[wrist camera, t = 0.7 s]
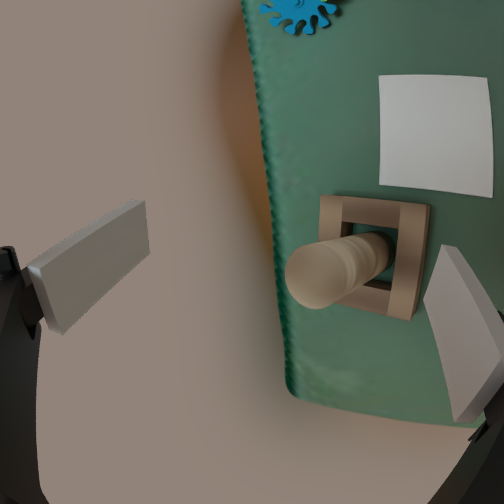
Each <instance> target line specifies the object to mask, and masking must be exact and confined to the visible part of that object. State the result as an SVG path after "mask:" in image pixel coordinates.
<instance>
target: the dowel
mask: <svg viewBox="0 0 504 504" xmlns="http://www.w3.org/2000/svg"><path fill="white" fill-rule="evenodd" d="M394 258H395V247H394V244H393V242H392V240H391V239H390V238H389V237H388V236H387V235H386V234H385V233H383V232H380V231H371V232H366V233H361V234H356V235H351V236H347V237H342V238H337V239H332V240H327V241H322V242H318V243H313V244H308V245H304V246H301V247H299V248H297V249H296V250H295V251H294V252H293V253H292V254H291V255H290V257H289V259H288V261H287V263H286V268H285V280H286V284H287V287H288V289H289V291H290V293H291V295H292V296H293V298H294V299H295V300H296V301H297V302H299V303H300V304H301V305H303V306H305V307H307V308H311V309H321V308H325V307H327V306H329V305H331V304H332V303H334V302H336V301H337V300H339V299H341V298H342V297H344V296H345V295H347V294H349V293H350V292H352V291H354V290H355V289H357V288H358V287H360V286H361V285H363V284H365V283H366V282H368V281H369V280H371V279H372V278H374V277H376V276H377V275H379V274H380V273H382V272H383V271H385V270H386V269H388V268H389V267H390V266H391V264H392V263H393V261H394Z"/></svg>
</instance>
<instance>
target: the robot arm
mask: <svg viewBox="0 0 504 504" xmlns="http://www.w3.org/2000/svg"><path fill="white" fill-rule="evenodd" d="M149 254H150V250H149V240H148V230H147V220H146V209H145V201H142V200H130V201H128V202H126V203H125V204H123V205H121V206H119V207H118V208H116V209H114V210H112V211H110V212H109V213H107V214H105V215H104V216H102V217H100V218H98V219H97V220H95V221H94V222H92V223H90V224H88V225H87V226H85V227H83V228H82V229H80V230H79V231H77V232H75V233H74V234H72V235H70V236H69V237H67V238H66V239H64V240H63V241H61V242H59V243H58V244H56V245H55V246H53V247H52V248H50V249H49V250H47V251H46V252H44V253H43V254H41V255H40V256H38V257H37V258H35V259H34V260H32V261H31V262H30V263H28V264H27V267H25V268H24V269H22V270H21V269H20V266H19V263H18V259H17V256H16V252H15V249H14V248H13V247H12V246H4V247H0V504H49V503H48V501H47V500H46V498H45V496H44V494H43V493H42V490H41V487H40V482H39V472H38V460H37V445H36V386H37V368H38V357H39V345H40V338H41V325H40V323H39V321H40V319H42V318H43V317H44V318H45V320H46V323H47V325H48V328H49V329H50V330H52V331H54V332H56V333H58V334H60V335H63V334H64V333H65V332H66V331H67V330H68V329H69V328H70V327H71V326H72V325H73V324H74V323H75V322H76V321H78V319H79V318H81V316H83V314H85V313H86V312H87V311H88V310H89V309H90V308H91V307H92V306H93V305H94V304H95V303H96V302H97V301H98V300H100V299H101V298H102V297H103V296H104V295H105V294H106V293H107V292H108V291H109V290H110V289H111V288H112V287H113V286H115V285H116V284H117V283H118V282H119V281H120V280H121V279H122V278H123V277H124V276H126V275H127V274H128V273H129V272H130V271H131V270H132V269H133V268H134V267H135V266H137V265H138V264H139V263H140V262H141V261H142V260H143V259H145V258H146V257H147V256H148V255H149ZM423 301H424V304H425V307H426V310H427V313H428V317H429V320H430V323H431V326H432V330H433V333H434V337H435V340H436V344H437V348H438V351H439V355H440V359H441V363H442V367H443V371H444V375H445V380H446V384H447V389H448V393H449V398H450V403H451V408H452V414H453V419H454V423H466V422H474V421H475V420H476V419H477V417H478V416H479V415H480V414H481V413H482V411H483V410H484V413H485V417H486V420H485V421H484V423H483V424H482V425H481V426H480V427H479V428H478V429H477V430H476V432H475V433H474V434H473V435H472V436H471V437H470V438H469V439H468V441H471V440H472V441H471V443H470V444H469V446H468V448H467V450H466V451H465V452H464V454H463V456H462V457H461V459H460V460H459V462H458V463H457V465H456V466H455V468H454V469H453V470H452V472H451V473H450V475H449V476H448V478H447V479H446V480H445V482H444V483H443V484H442V486H441V487H440V488H439V490H438V491H437V492H436V494H435V495H434V496H433V497H432V499H431V500H430V501H429V502H428V504H504V315H503V314H502V313H501V312H500V311H498V310H496V308H495V307H494V305H493V303H492V301H491V300H490V298H489V296H488V295H487V293H486V291H485V290H484V288H483V286H482V285H481V283H480V281H479V280H478V278H477V277H476V275H475V274H474V272H473V270H472V269H471V267H470V266H469V264H468V263H467V261H466V260H465V258H464V257H463V255H462V254H461V252H460V251H459V250H458V248H457V247H453V246H448V245H443V244H442V245H441V248H440V251H439V255H438V258H437V261H436V264H435V267H434V270H433V273H432V276H431V279H430V282H429V285H428V288H427V290H426V293H425V296H424V299H423Z"/></svg>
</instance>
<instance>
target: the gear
mask: <svg viewBox="0 0 504 504" xmlns="http://www.w3.org/2000/svg"><path fill="white" fill-rule="evenodd" d="M270 1H271V2H273V3H274V7H273V8H272V7H270V6H268V5H267V4H262V5H260V6H259V9H260V13H262V14H265V13H267V12H270V11H275V12H279V13H281V18H278V17H273V18H271V19H270V20H269V22H270V23H271V25H272V26H273V27H276V26H278V25H279V24H280V23H281V21H282V20H284V19H288V18H289V19H292V20H293V24H291V25H288V26H287V27H286V28H285V31H286V32H288V33H290V34H294V33H295V32H296V30H297V28H296V27H297V24H298V22H299V21H300V20H305V21H306V22H307V25H306V26H305V27H304V28H303V32H304V33H306V34H312V33H313V32H314V27H313V26H312V23H311V18H312V15H317V16H318V18H319V20H318V25H319V26H320V27H324V26H326V25H328V24H329V23H330V22H329V20H328V19H327V18H325V17H324V16H323V15H322V14H321V12H320V10H319V5H323V6H325V8H326V10H327V12H328V13H330V14H333V13H334V12H335V11H336V9H337V6H336V5H335V4H330V3H326V2H325V1H327V0H270Z"/></svg>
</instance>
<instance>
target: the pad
mask: <svg viewBox="0 0 504 504" xmlns="http://www.w3.org/2000/svg"><path fill="white" fill-rule="evenodd" d="M379 90H380V178H379V185H385V186H397V187H407V188H417V189H426V190H435V191H444V192H452V193H459V194H467V195H474V196H481V197H487V198H492V195H493V134H492V119H491V108H490V98H489V90H488V83H487V78H482V77H470V76H454V75H383V76H379Z"/></svg>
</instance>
